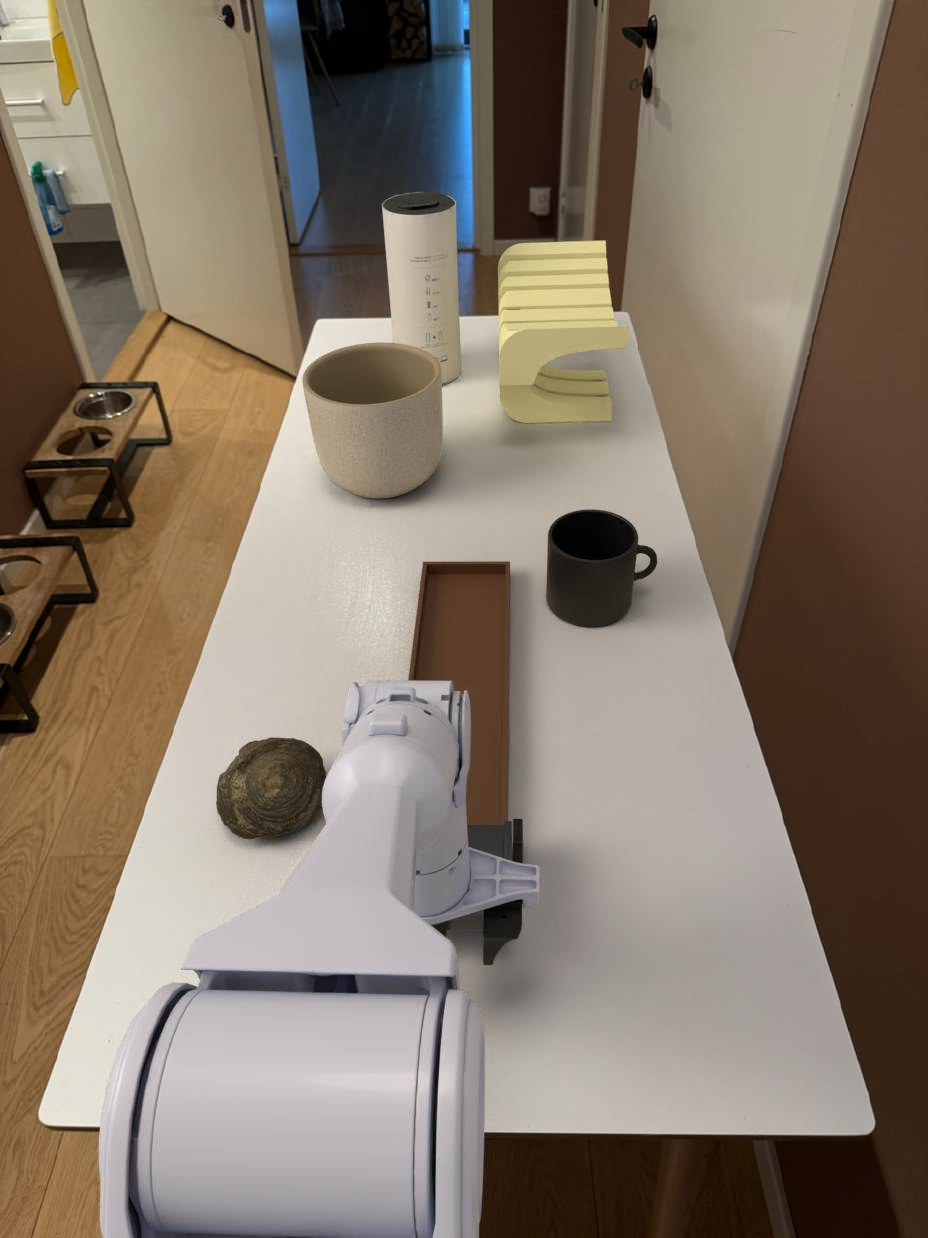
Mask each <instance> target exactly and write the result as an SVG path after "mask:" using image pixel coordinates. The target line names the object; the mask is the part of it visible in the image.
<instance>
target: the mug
mask: <svg viewBox="0 0 928 1238" xmlns="http://www.w3.org/2000/svg"><path fill="white" fill-rule="evenodd" d="M546 551H547V552H546V554H547V555H546V581H545V583H546V584H545V585H546V586H545V588H546V589H545V600H546V603H547V606H548V608H549V610H551V612H552V613H553V614H554V615H555V616H556V617H557V618H559V619H561V620H562V621H564V622H566V623H568V624H571V625H573V626H574V625H575V626H580V627H586V628H587V627H588V628H595V627H596V628H597V627H604V626H607V625H610V624H613V623H615V622H617V621H619V620H620V619H622V618H623V617H624V616H625V615H626V614H627V613H628V611H629V609H630V608H631V606H632V603H633V601H632V600H633V591H634V583H635V582H637V581H639V580H643V579H646V578H647V577H649V576H650V575H652V574H653V572H654V571H655V570H656V568H657V565H658V555H657V552H656V551H655V550H654V549H653V548H652V547H650V546H648V545H643V544H639V533H638V530H637V529H636V527H635V526H634V525H633V523H632V522H631V521H630V520H628V519H627V518H626V517H623V516H622V515H619V514H617V513H614V512H612V511H608V510H604V509H603V510H602V509H592V508H591V509H589V508H588V509H579V510H574V511H571V512H567V513H565V514H563V515H560V516H559V517H557V518H556V519H555V520H554V521H553V522H552V523H551V525H550V526H549V529H548V532H547V550H546ZM640 554H643V555H646V556H647V557H648V558H649V563H648V565H647V567H645V568H644V569H642V570H640V571H636V566H637V565H636V564H637V556H638V555H640Z"/></svg>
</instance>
